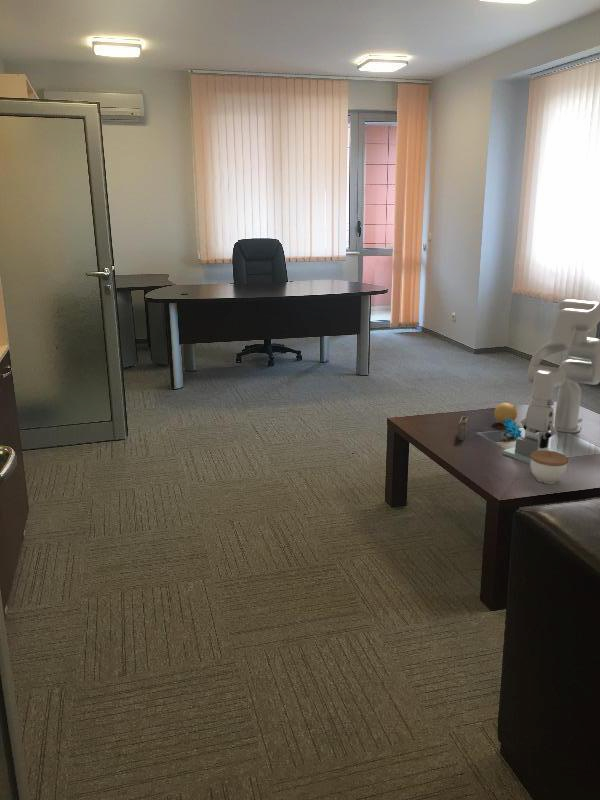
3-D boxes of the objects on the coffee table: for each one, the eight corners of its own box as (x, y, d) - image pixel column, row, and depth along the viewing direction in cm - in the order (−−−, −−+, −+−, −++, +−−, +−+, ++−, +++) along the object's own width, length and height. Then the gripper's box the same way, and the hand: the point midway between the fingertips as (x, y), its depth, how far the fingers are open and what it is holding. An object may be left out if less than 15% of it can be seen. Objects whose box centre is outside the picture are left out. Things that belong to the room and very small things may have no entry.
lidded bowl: (535, 470, 244) (538, 442, 240) (569, 479, 236) (573, 450, 233) (522, 480, 234) (526, 451, 231) (558, 489, 226) (562, 460, 223)
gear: (514, 438, 274) (502, 417, 277) (503, 445, 277) (492, 425, 281) (527, 436, 281) (515, 416, 285) (517, 442, 285) (505, 423, 288)
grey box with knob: (534, 445, 263) (536, 426, 260) (547, 450, 258) (550, 430, 255) (523, 449, 259) (525, 429, 257) (536, 454, 254) (539, 434, 251)
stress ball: (496, 428, 294) (514, 418, 288) (486, 409, 297) (504, 398, 291) (506, 427, 301) (524, 417, 295) (497, 408, 304) (514, 398, 298)
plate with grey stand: (531, 445, 270) (533, 428, 268) (565, 457, 257) (567, 439, 255) (502, 453, 260) (504, 436, 258) (536, 466, 247) (539, 448, 245)
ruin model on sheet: (464, 441, 275) (466, 419, 272) (457, 440, 276) (459, 418, 273) (468, 433, 285) (470, 412, 282) (461, 432, 286) (462, 411, 283)
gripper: (566, 405, 248) (561, 449, 253) (528, 395, 262) (523, 437, 267) (554, 408, 244) (549, 453, 249) (516, 398, 257) (512, 440, 263)
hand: (536, 444), depth 258 cm, fingers closed on grey box with knob, 6 cm apart
